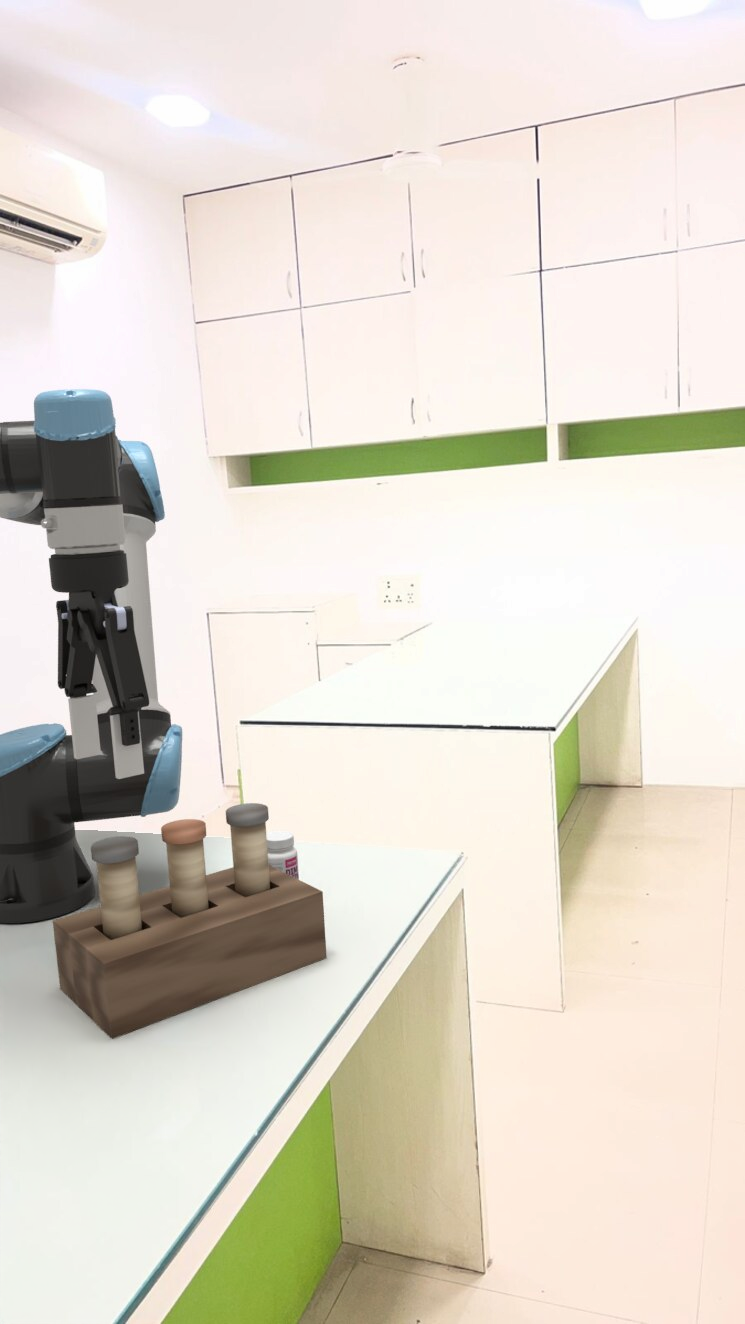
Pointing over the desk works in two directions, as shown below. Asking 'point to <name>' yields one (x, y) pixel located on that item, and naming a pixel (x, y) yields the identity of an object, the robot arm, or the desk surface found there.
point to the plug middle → (186, 865)
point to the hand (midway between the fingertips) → (108, 765)
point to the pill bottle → (282, 852)
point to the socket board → (188, 950)
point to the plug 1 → (118, 885)
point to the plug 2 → (249, 847)
